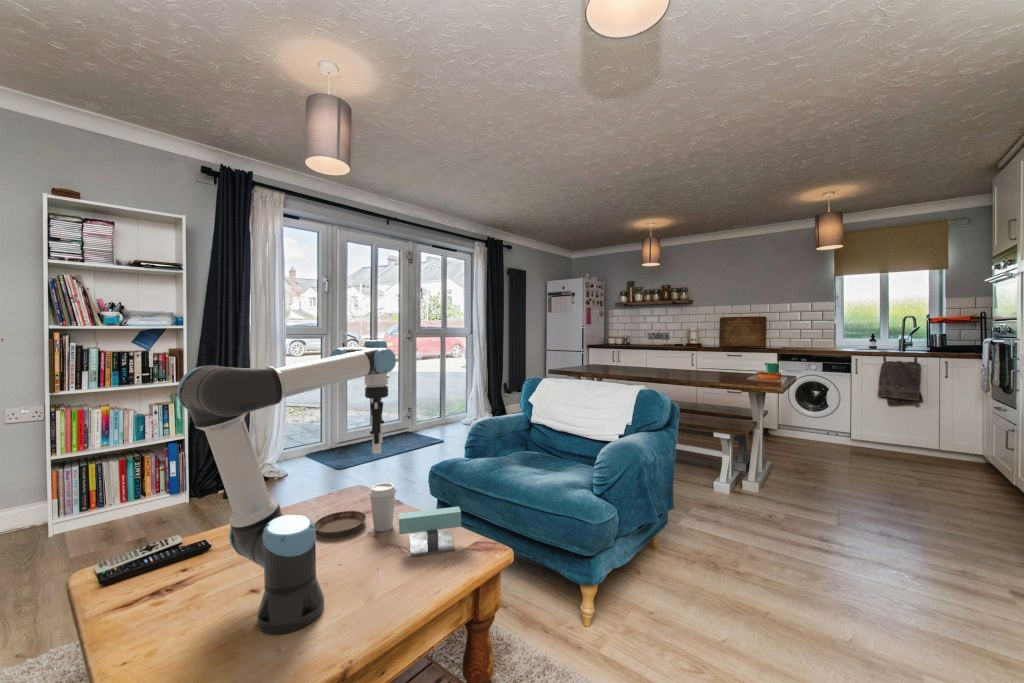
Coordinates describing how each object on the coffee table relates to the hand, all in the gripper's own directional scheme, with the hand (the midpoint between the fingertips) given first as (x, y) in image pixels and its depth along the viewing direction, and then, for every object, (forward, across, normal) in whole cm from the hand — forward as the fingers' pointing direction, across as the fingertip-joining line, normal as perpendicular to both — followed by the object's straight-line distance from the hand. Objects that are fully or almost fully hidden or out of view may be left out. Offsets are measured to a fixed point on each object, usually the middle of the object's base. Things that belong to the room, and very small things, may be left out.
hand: (377, 447), depth 148 cm
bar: (+26, -9, -17) cm, 32 cm away
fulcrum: (+32, -8, -17) cm, 37 cm away
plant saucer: (+32, +13, +14) cm, 37 cm away
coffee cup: (+32, +9, -1) cm, 33 cm away
